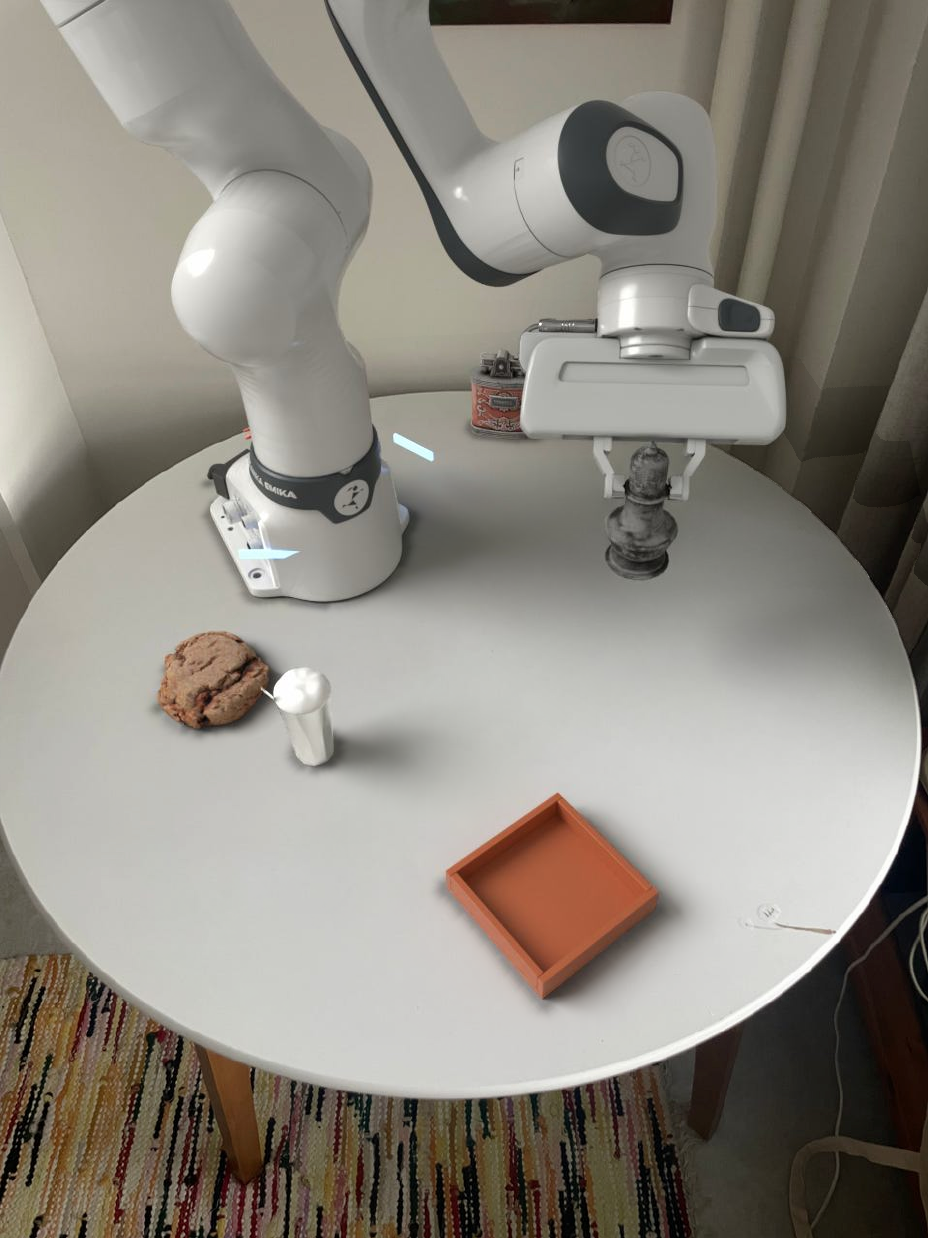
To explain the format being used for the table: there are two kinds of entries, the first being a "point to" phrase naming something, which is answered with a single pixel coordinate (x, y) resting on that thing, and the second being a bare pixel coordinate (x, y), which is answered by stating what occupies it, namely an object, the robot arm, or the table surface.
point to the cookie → (211, 680)
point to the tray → (551, 893)
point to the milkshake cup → (306, 713)
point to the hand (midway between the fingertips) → (646, 499)
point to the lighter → (497, 396)
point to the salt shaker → (642, 519)
